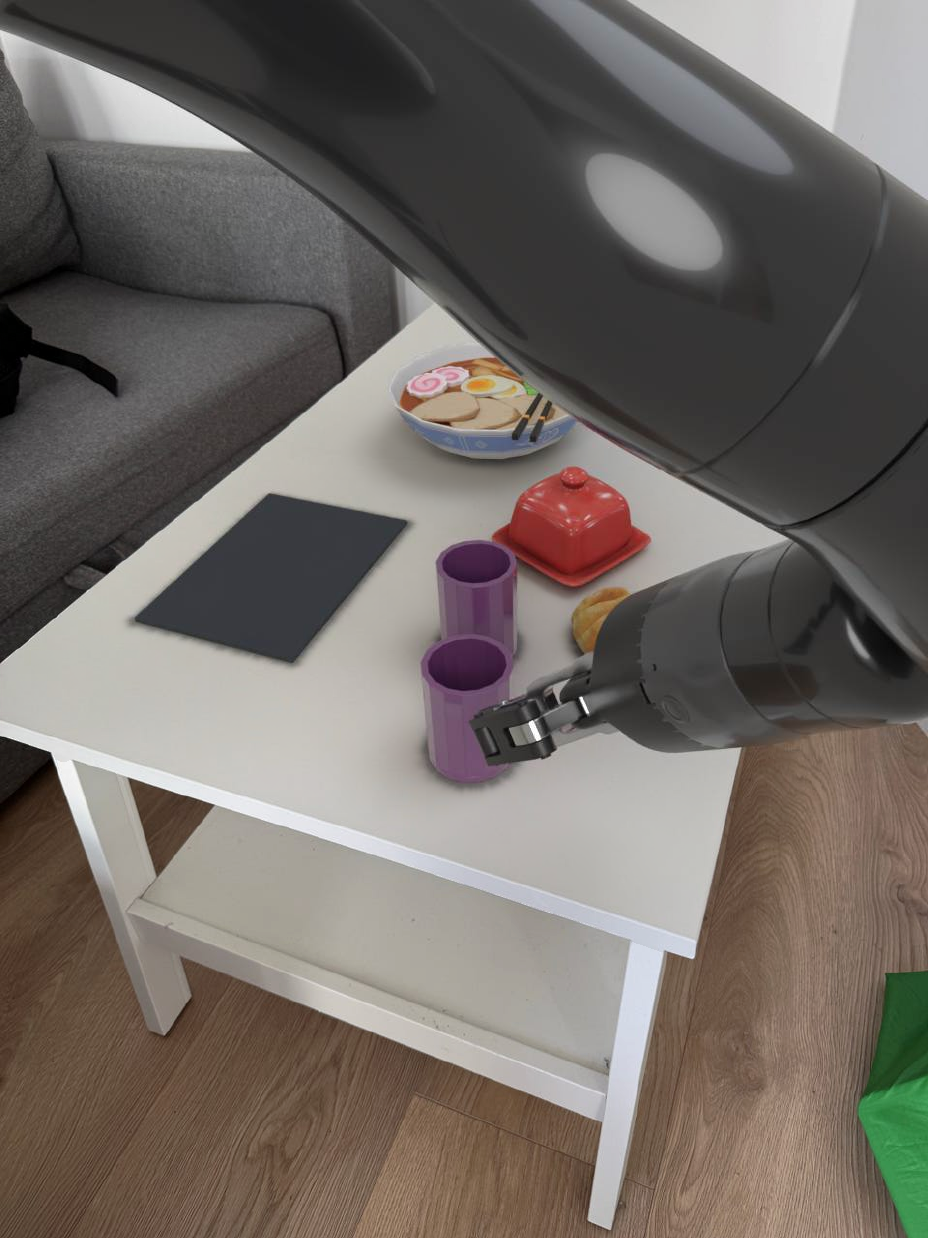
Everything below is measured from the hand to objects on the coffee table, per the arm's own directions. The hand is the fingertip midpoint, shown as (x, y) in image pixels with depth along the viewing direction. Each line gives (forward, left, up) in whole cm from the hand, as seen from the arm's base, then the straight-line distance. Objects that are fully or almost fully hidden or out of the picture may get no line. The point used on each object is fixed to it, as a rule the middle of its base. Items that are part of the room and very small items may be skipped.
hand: (550, 697), depth 52 cm
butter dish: (+19, +27, -13) cm, 36 cm away
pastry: (+15, +13, -13) cm, 24 cm away
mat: (-6, +38, -13) cm, 41 cm away
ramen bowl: (+23, +49, -13) cm, 56 cm away
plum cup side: (+5, +19, -13) cm, 24 cm away
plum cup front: (-1, +9, -13) cm, 16 cm away
